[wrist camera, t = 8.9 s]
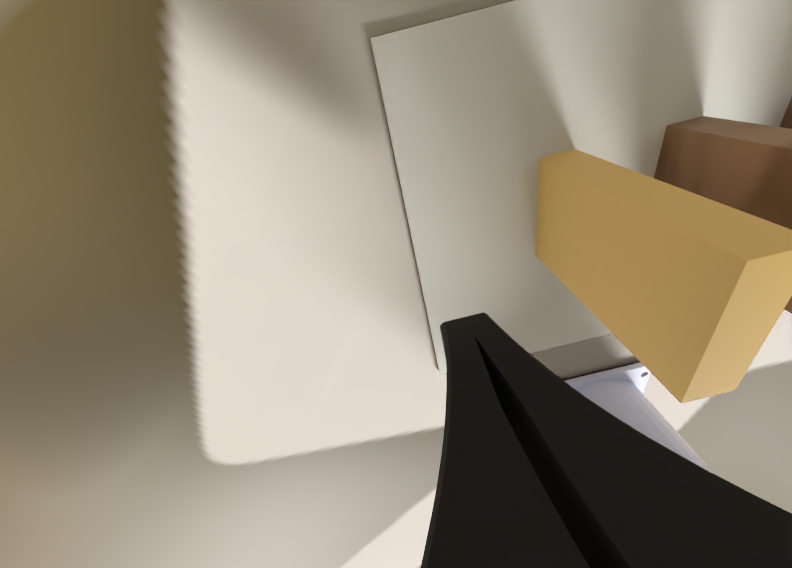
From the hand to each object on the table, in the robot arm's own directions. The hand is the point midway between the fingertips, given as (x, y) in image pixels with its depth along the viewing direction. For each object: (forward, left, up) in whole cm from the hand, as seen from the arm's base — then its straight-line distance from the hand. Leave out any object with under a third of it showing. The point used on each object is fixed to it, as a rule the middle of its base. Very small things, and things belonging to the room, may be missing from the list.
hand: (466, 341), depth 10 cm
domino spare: (0, -6, -7) cm, 10 cm away
